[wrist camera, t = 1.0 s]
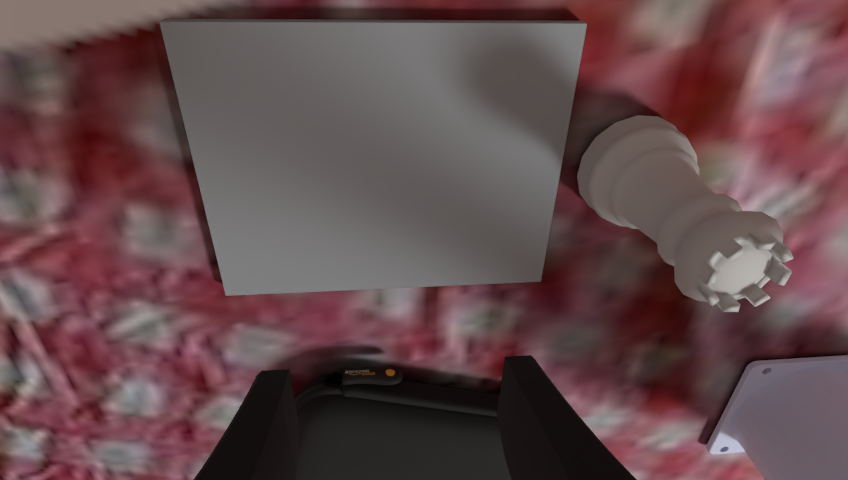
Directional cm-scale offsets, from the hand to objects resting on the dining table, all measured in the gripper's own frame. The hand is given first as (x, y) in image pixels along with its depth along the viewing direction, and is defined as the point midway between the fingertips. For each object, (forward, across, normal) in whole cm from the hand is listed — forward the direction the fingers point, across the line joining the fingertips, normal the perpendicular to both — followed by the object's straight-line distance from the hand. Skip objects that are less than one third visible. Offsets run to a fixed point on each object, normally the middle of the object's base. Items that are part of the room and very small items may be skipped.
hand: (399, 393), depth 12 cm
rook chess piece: (+11, -10, -1) cm, 15 cm away
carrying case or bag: (+11, -2, +15) cm, 19 cm away
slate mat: (+10, 0, -1) cm, 10 cm away
